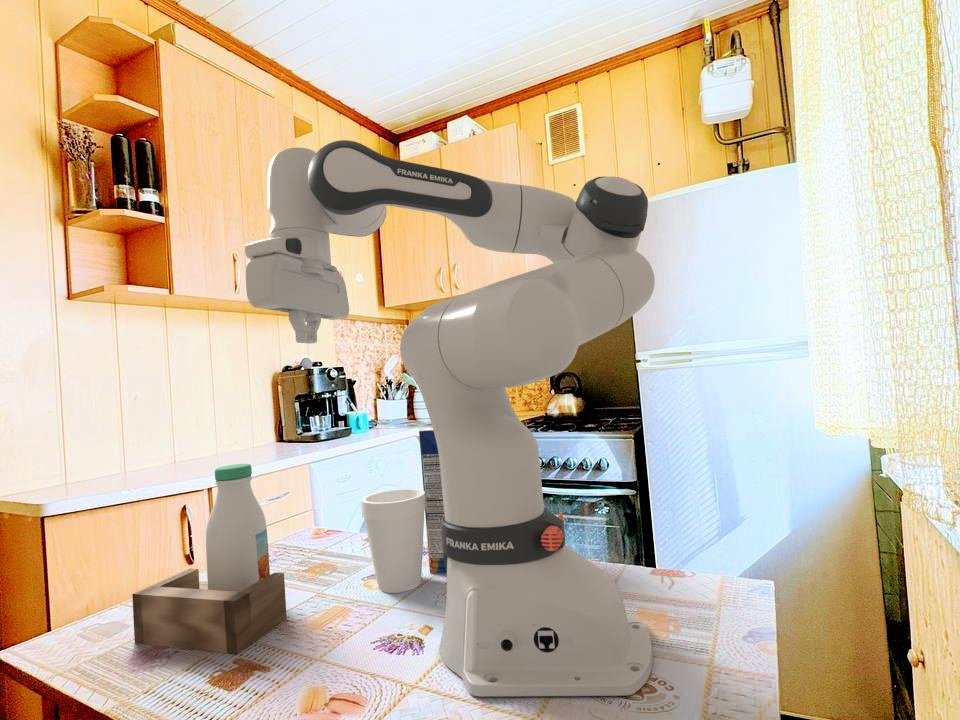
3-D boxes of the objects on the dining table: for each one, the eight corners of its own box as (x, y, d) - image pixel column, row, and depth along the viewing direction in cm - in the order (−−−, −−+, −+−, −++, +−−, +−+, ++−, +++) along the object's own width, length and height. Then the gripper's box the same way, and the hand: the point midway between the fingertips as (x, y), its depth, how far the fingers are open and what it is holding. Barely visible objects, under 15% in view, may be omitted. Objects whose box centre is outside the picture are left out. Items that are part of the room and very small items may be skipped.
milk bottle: (246, 626, 64) (237, 470, 65) (196, 624, 66) (187, 472, 67) (283, 599, 72) (274, 460, 73) (236, 598, 74) (229, 462, 74)
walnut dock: (286, 619, 65) (283, 572, 65) (237, 654, 57) (234, 601, 57) (192, 611, 70) (190, 568, 70) (134, 642, 62) (132, 593, 62)
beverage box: (429, 573, 77) (418, 431, 78) (449, 549, 88) (439, 424, 89) (472, 573, 76) (460, 428, 77) (487, 549, 86) (477, 421, 87)
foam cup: (412, 600, 68) (405, 504, 69) (355, 595, 71) (348, 503, 72) (441, 573, 77) (435, 488, 78) (389, 570, 80) (383, 488, 81)
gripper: (324, 270, 89) (329, 347, 88) (235, 242, 70) (241, 341, 69) (355, 265, 87) (360, 344, 86) (272, 235, 68) (278, 336, 67)
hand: (306, 342), depth 78 cm, fingers closed
